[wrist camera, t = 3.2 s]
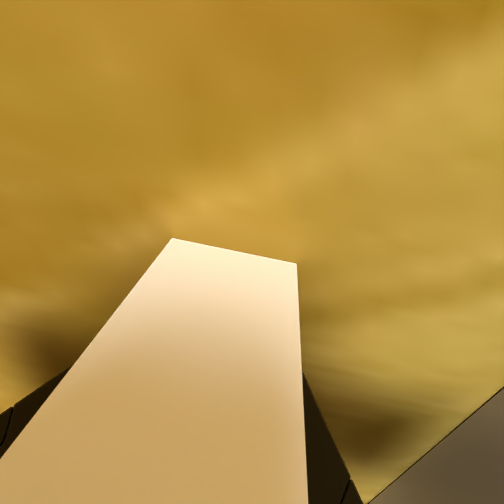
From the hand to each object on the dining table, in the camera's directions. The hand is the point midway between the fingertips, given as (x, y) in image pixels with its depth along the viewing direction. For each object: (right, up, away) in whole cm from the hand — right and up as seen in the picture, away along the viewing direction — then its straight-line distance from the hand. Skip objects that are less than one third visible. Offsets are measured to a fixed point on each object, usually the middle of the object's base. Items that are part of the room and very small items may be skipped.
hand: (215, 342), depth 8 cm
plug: (0, +1, +1) cm, 2 cm away
